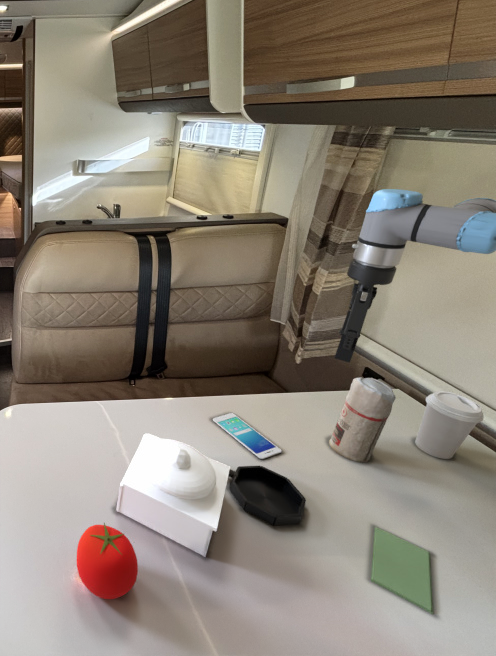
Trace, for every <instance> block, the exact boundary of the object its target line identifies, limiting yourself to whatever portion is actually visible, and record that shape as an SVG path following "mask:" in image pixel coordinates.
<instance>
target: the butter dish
mask: <svg viewBox="0 0 496 656" xmlns="http://www.w3.org/2000/svg"><path fill="white" fill-rule="evenodd" d="M132 457H133V458H132V459H131V462H130V464H129V465H128V468H127V470H126V472H125V474H124V476H123V478H122V480H121V482H119V488H118V495H117V503H116V510H115V511H116V512H118V513H120V514H122V515H123V516H126V517H127V518H130V519H131V520H133V521H136V522H137V523H139V524H141V525H142V526H145V527H147V528H149V529H151V530H152V531H154V532H156V533H159V534H161V535H162V536H164V537H166V538H168V539H170V540H172V541H174V542H176V543H177V544H179V545H181V546H183V547H186V548H187V549H189V550H191V551H193V552H195V553H197V554H199V555H200V556H202V557H204V558H206V556H207V553H208V549H209V546H210V542H211V539H212V534H213V532H216V533H217V531H218V526H219V521H220V516H221V512H222V507H223V503H224V497H225V494H226V490H227V489H226V488H227V483H228V479H229V476H228V475H229V470H230V469H231V466H230V465H227V464H225V463H223V462H220V461H218V460H216V459H213V458H210V457H208V456H206V455H204V454H203V453H202V452H200V451H199V450H198V449H196V448H195V447H193V446H192V445H189V444H188V443H185V442H183V441H179V440H176V439H172V438H161V437H159V436H156V435H153V434H151V433H149V432H146V433H143V436H142V438H141V441H140V443H139V445H138V446H137V449H136V451H135V453H134V455H133V456H132Z"/></svg>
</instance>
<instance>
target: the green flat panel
mask: <svg viewBox="0 0 496 656" xmlns="http://www.w3.org/2000/svg"><path fill="white" fill-rule="evenodd" d="M373 532H374V534H373V547H372V561H371V574H370V581H371V582H372V583H374V584H376V585H378V586H379V587H381V588H383V589H384V590H387V591H389V592H391V593H392V594H395V595H396V596H398V597H399V598H401V599H404V600H405V601H407V602H409V603H411V604H413V605H414V606H416V607H419V608H420V609H422V610H424V611H426V612H428V613H430V614H431V615H434V608H433V590H432V589H433V588H432V587H433V586H432V569H431V568H432V567H431V553H430V552H429V551H428V550H426V549H424V548H422V547H419V545H418V546H417V545H416V544H413V543H411V542H410V541H407V540H405V539H402V538H401V537H398V536H397V535H394V534H392V533H391V532H388V531H386V530H384V529H382V528H379V527H377V526H375V527H374V531H373Z"/></svg>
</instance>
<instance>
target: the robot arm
mask: <svg viewBox="0 0 496 656" xmlns="http://www.w3.org/2000/svg"><path fill="white" fill-rule="evenodd" d="M423 198H424V195H423V194H422V193H421V192H419V191H415V190H414V191H413V190H408V189H398V188H385V189H380V190H377V191H375V192H374V193H373V195H372V197H371V200H370V202H369V205H368V208H367V209H366V210H365V216H364V219H363V223H362V226H361V229H360V232H359V236H358V239H357V243H353V244H352V246H351V248H352V249H354V252H353V254H352V258H353V259H351V260H350V262H349V265H348V269H347V272H346V275H347V276H348V277H349V278H350V279H352V280H354V281H357V283H355V282H354V283H353V287H352V290H351V299H350V302H349V306H348V308H349V310H347V313H346V315H345V319H344V322H343V324H342V328H341V329H339V335H340V340H339V343H338V346H337V348H336V352H335V354H334V359H335V360H339V361H343V362H346V363H349V364H350V363H351V361H352V358H353V355H354V352H355V349H356V346H357V343H358V341H359V338H360V337H361V332H362V329H363V326H364V323H365V319H366V316H367V314H368V310H370V309H371V307H372V304H373V301H374V299H375V298H376V296H377V293H378V285H379V286H386V285H390V284H391V283H393V280H394V277H395V275H396V273H397V267H396V266H399V265H400V262H401V260H402V257H403V254H404V252H405V249H406V244H407V242H408V241H409V242H412V243H420V244H423V245H429V246H435V247H441V248H445V249H451V250H457V251H461V252H462V253H473V254H482V255H490V254H493V253H495V252H496V200H495V199H493V198H489V197H475V198H470V199H466V200H463V201H460V202H459V203H457V204H455V205H454V206H453V207H450V206H441V205H432V204H429V203H423V202H424V201H423ZM376 286H377V287H376Z"/></svg>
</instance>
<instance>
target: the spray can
mask: <svg viewBox="0 0 496 656" xmlns="http://www.w3.org/2000/svg"><path fill="white" fill-rule="evenodd" d="M395 400H396V395H395V393H394V390H393V389H392V388H391V387H390V386H388V385H387V384H385V382H384V383H383V382H382V381H380V380H378V379H376V378H373V377H365V378H364V377H355V378H353V379H352V382H351V384H350V387H349V391H348V393H347V395H346V396H345V402H344V404H343V406H342V409H341V411H340V414H339V417H338V418H337V421H336V424H335V427H334V429H333V431H332V434H331V436H330V439H329V440H328V444H329V446H330V447H331V449H332V450H333V451H334V453H336V454H338V455H339V456H341V457H343V458H345V459H347V460H350V461H354V462H357V463H367V462H369V461H370V459H371V457H372V454H373V452H374V449H375V447H376V445H377V443H378V441H379V438H380V436H381V434H382V432H383V430H384V427H385V426H386V424H387V420H388V419H389V417H390V415H391V413H392V408H393V404H394V402H395Z"/></svg>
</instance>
